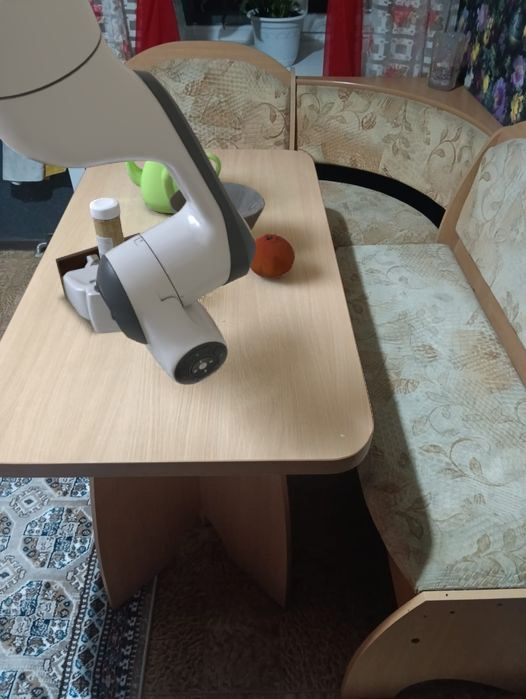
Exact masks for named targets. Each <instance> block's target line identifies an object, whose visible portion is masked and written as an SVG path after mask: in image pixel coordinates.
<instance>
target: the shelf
mask: <svg viewBox="0 0 526 699" xmlns="http://www.w3.org/2000/svg"><path fill="white" fill-rule="evenodd" d="M138 234H141V233H140V232H137V233H134V234H130V235H128V236H124V242H125V241H127V240H129V239H131V238H132V237H134V236H136V235H138ZM95 254H97V256H98V257H99V260H100V254H99V249H98V245H95V246H92V247H90V248H89V247H88V248H86V249H83V250H80V251H76V252H73V253H70V254H67V255H64V256H61V257H58V258H55V259H54V260H55V263H56V268H57V272H58V276H59V279H60V283H61V287H62V290H63V295H64V299H65V300H66V301H67V302H68V303H69V304H70V306H72V307H73V308H74V306H73V305H72V303H71V302H70V300H69V298H68V296H67V293H66V289H65V286H64V281H63V277H64V275H65V274H66V273H67V272H69V271H74V270H78V269H82V268H85V266H86V264H87V263H88V261H87V256H91V255H95ZM82 318H83V320H85V322H86V323H87V324H88V325H89V326H90V327H91V328H92V329H93V330H94V328H93V325H92V323H91V320H88V319H85V318H84V317H82Z"/></svg>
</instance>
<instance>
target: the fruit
mask: <svg viewBox="0 0 526 699" xmlns="http://www.w3.org/2000/svg"><path fill="white" fill-rule="evenodd" d="M254 241H255V244H256V250H255V255H254V258H253V262H252V264H251V267H250V270H251V271H252V272H253V273H254V274H255V275H256V276H260V277H264V278H268V279H269V278H270V279H275V278H280V277H282V276H284V275H286V274H288V273H289V272H290V271H291V270H292V269H293V266H294V263H295V259H296V256H295V254H296V253H295V250H294V247H293V246H292V244H291V243H290V241H289V240H287V239H286V238H285V237H283V236H281V235H278V234H276V233H265V234H263V235H261V236H259V237H257V238H254Z"/></svg>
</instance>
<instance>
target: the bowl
mask: <svg viewBox="0 0 526 699" xmlns="http://www.w3.org/2000/svg"><path fill="white" fill-rule="evenodd" d="M221 183H222V185H223V186H224V188H225V190H226V192H227V194H228V196H229V198H230V199H231V201H232V203H233V204H234V206H235V208H236V209H237V210H238V211H239V212H240V214H241V215H242V216H243V218H244V219H245V221H246V222H247V224H248V226H249V228H250V230H251V231H252V230H253V229H254V227H255V225H256V224H257V221H258V220H259V218H260V216H261V214H262V213H263V211H264V209H265V206H266V202H265V199H264V198H263V196H262V195H261V194H260V193H259V192H258V191H257V190H255V189H254V188H252V187H250V186H248V185H246V184H243V183H242V184H241V183H236V182H229V181H221ZM186 201H187V200H186V199H185V197H184V196H183V194H182V193H181V191H180V189H179V190H178V191H176V192H175V193H174V194H173V195H172V196H171V198H170V200H169V206H170V208H171V210H172V212H173V213H172V214H173V215H175V214H176V213H178V212H179V211H180V210H181V209H182V208H183V206H184V205H185V203H186Z"/></svg>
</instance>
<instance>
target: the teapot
mask: <svg viewBox="0 0 526 699" xmlns="http://www.w3.org/2000/svg"><path fill="white" fill-rule="evenodd" d="M205 153H206V155H207V157H208V158H209V160H211V161H213V162H214V163H215V172H216V173H217V175H218V177H220V174H221V170H222V162H221V160H220V158H219V157H218V156H217V154H214V153H212V152H205ZM124 165H125V169H126V171H127V174H128V177H129V179H130V180H131V181H132V183H133V184H134V185H135V186H137V187H139V188H140V195H141V197H142V200H143V201H144V203H145V204H146V205H147V206H148V207H149V209H151V210H152V211H154V212H158V213H165V214H174V213H173V212H172V210H171V208H170V206H169V200H170V198H171V196H172V195H173V194H174V193H175V192H176V191H178V190H179V188H178V186H177V185H176V183H175V182H174V180H173V179H172V177H171V175H170V174H169V172H168V171H167V169H166V168H165V166H164V165H163V164H161V163H158V162H152V161H144V165H143V168H141V167H139V166H138V165H137V164H136V161H130V162H124Z"/></svg>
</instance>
